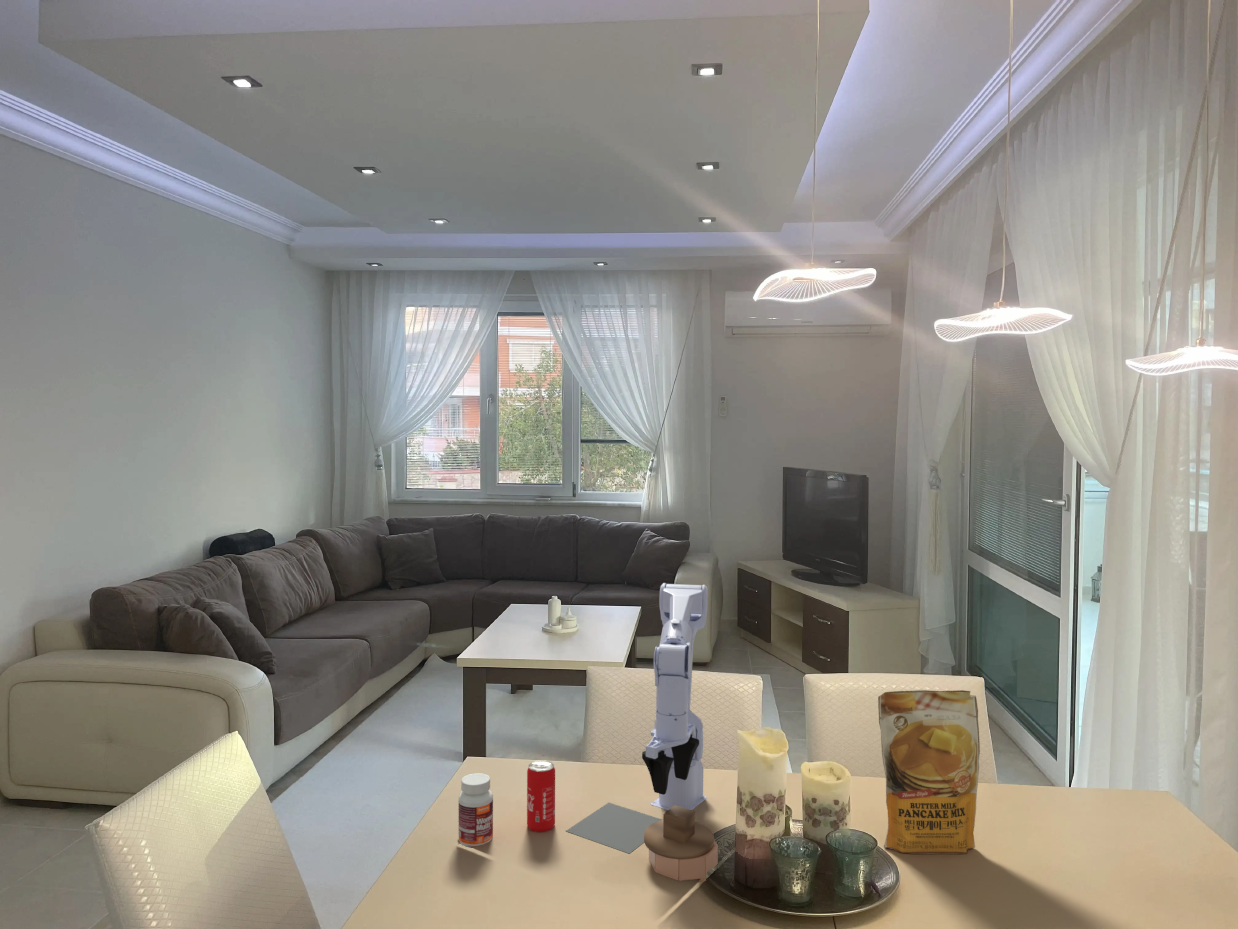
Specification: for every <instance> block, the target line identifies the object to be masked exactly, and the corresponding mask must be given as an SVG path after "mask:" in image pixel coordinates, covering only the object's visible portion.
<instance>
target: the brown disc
mask: <svg viewBox="0 0 1238 929" xmlns="http://www.w3.org/2000/svg"><path fill="white" fill-rule="evenodd" d="M714 840H715V835H714V832H713V831H712V829H710V828H709V827H708V826H707V825H705V824H703V823H701V822H699V821H696V811H695V810H694V809H692V810H690V809H687V808H683V807H680V806H676V805H674V806H673V807H671V808H670V809H669V810H666V812H664V813H663V818H662V820H660V821H657V822H655V823H653V824H651V825H649V826H648V827H647V828H646V830H645V832H644V843H643V844H644V846H645V847H646V848H647V849H648V851H649V850H651V851H652V852H654V853H655V854H658V855H660V856H663V857H667V858H672V859H692V858H697V857H700V856H703V855H705V854H707V853H709V852H710V851H711V850H712V848H713V846H714Z"/></svg>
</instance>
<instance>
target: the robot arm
mask: <svg viewBox="0 0 1238 929" xmlns="http://www.w3.org/2000/svg"><path fill="white" fill-rule="evenodd" d="M659 588H660V589H659V596H658V597H659V598H658V599H659V602H658V604H659V605H658V606H659V611H660V620H661V621H662V622H661V623H662V630H661V635H660V639H659V640H660V641H659V646H655V648H654V652H653V673H654V686H655V687H656V693H655V694H656V697H655V720H654V727H653V729H652V730H651V731H650V737H652V738H651V739H650V741H649V743H648V744H647V745H645V750H643V751H642V753H641V755H642V756H641V758H642V760H643V762H644V763H645V765H646V768H647V771H648V772H649V775H650V776H649V777H650V780H651V785H652V788H653V789H652V790H653V792H654V793H656V794H658V798H656V799H655V800H654V801H652V802H651V803H650V805H651V806H653V807H656V808H660V809H663V810H665V811H668V810H669V809H670V808H671V807H673V806H674V805H676V806H680V807H683V808H687V809H690V810H694V809H695V808H696V807H698V806H699V805H700V804H702V803H703V801H705V800H707V799H708V797H707V796H706V795H704V766H703V762H702V760H703V755H704V754H703V752H704V723H703V722H702V718H700V717H699V716H698V715H697V714H695V712H693V711H692V710H691V700H692V678H693V659H694V658H693V657H694V642H695V638H696V634H697V632H698V631H700V630H701V629H705V626H706V623H707V618H708V617H707V615H708V599H709V597H708V596H709V594H708V593H709V591H708V590H709V589H708V586H706V584H702V585H701V584H679V583H677V584H676V583H666V582H663V583H662V584H661V585H660V586H659Z"/></svg>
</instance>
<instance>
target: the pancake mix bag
mask: <svg viewBox="0 0 1238 929" xmlns="http://www.w3.org/2000/svg"><path fill="white" fill-rule="evenodd" d="M971 692H972V691H971V690H964V689H962V690H960V689H959V690H927V689H926V690H923V689H922V690H898V691H894V690H893V691H885V692H883V693H882V694H880V695H879V696H878V697H877V698H878V700H877V702H878V703H877V704H878V723H879V728H880V741H881V744H880V745H881V756H882V757H881V758H882V763H883V769H884V770H883V771H884V774H885V803H886V809H887V820H888V821H887V824H888V825H887V833H886V838H885V841H884V845H883V848H886V849H890V850H891V849H892V850H893V851H896V852H898V853H902V854H912V855H913V854H914V855H915V854H917V855H920V854H921V855H922V854H923V855H941V854H945V855H960V854H961V855H962V854H963V855H964V854H968V851H969V850H972V849H974V848H975V849H976V842H975V837H974V836H975V835H974V832H975V826H976V825H975V823H976V815H977V814H976V813H977V795H978V785H979V773H980V772H979V771H980V762H979V761H980V754H981V753H980V752H981V747H980V746H981V745H980V744H981V743H980V727H979V726H980V725H979V708H978V700H977V695H972V694H971Z"/></svg>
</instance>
